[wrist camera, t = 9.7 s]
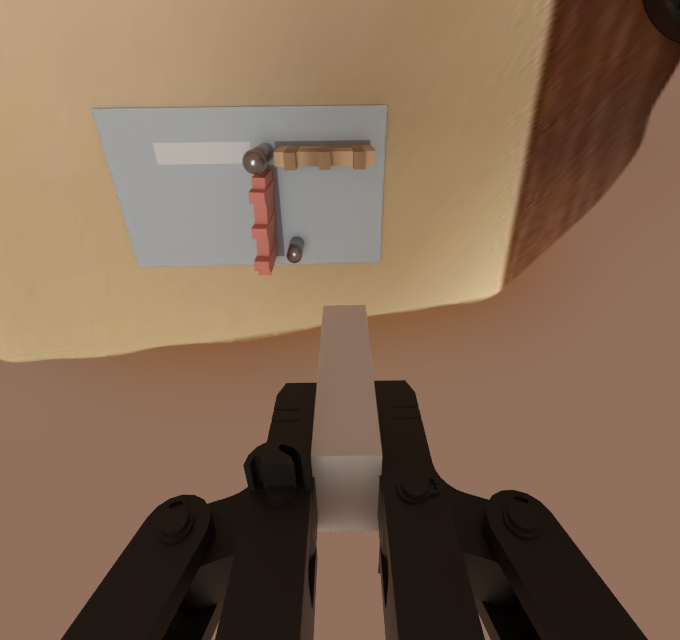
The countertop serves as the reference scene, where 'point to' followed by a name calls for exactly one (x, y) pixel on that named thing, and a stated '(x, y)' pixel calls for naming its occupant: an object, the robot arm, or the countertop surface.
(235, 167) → the card
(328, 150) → the fence fixed
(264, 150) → the post
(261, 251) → the fence panel
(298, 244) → the peg
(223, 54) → the countertop surface
